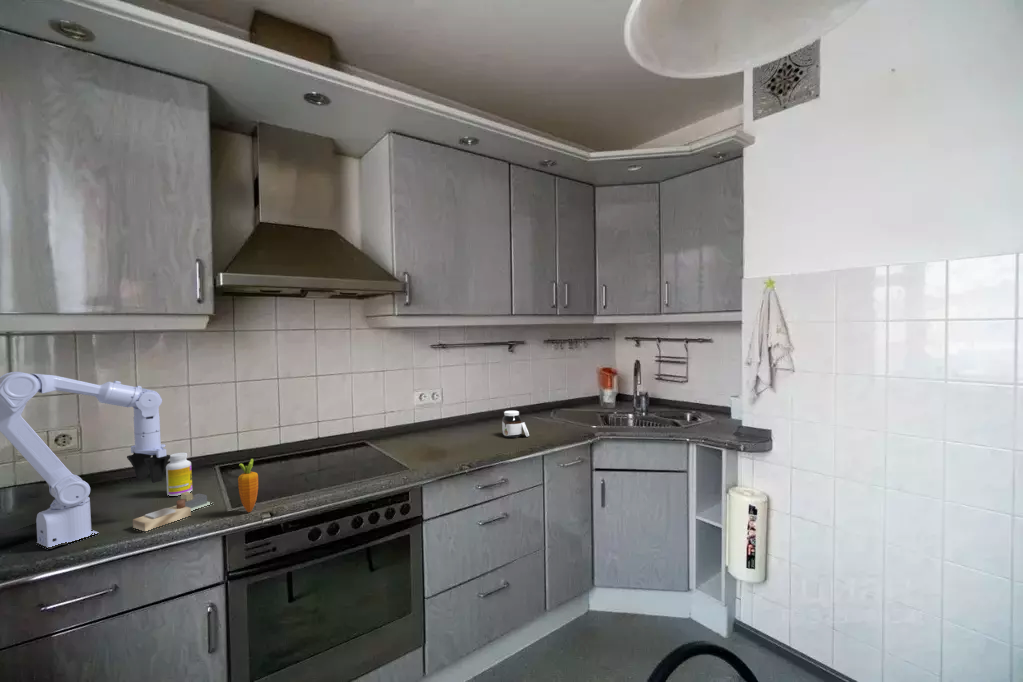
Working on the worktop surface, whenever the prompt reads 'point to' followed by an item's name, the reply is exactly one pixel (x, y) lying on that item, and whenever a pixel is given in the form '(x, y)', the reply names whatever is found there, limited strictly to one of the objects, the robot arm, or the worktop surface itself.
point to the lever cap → (193, 499)
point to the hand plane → (162, 516)
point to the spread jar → (513, 425)
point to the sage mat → (200, 506)
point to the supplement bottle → (178, 475)
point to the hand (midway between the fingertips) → (149, 480)
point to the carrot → (248, 486)
